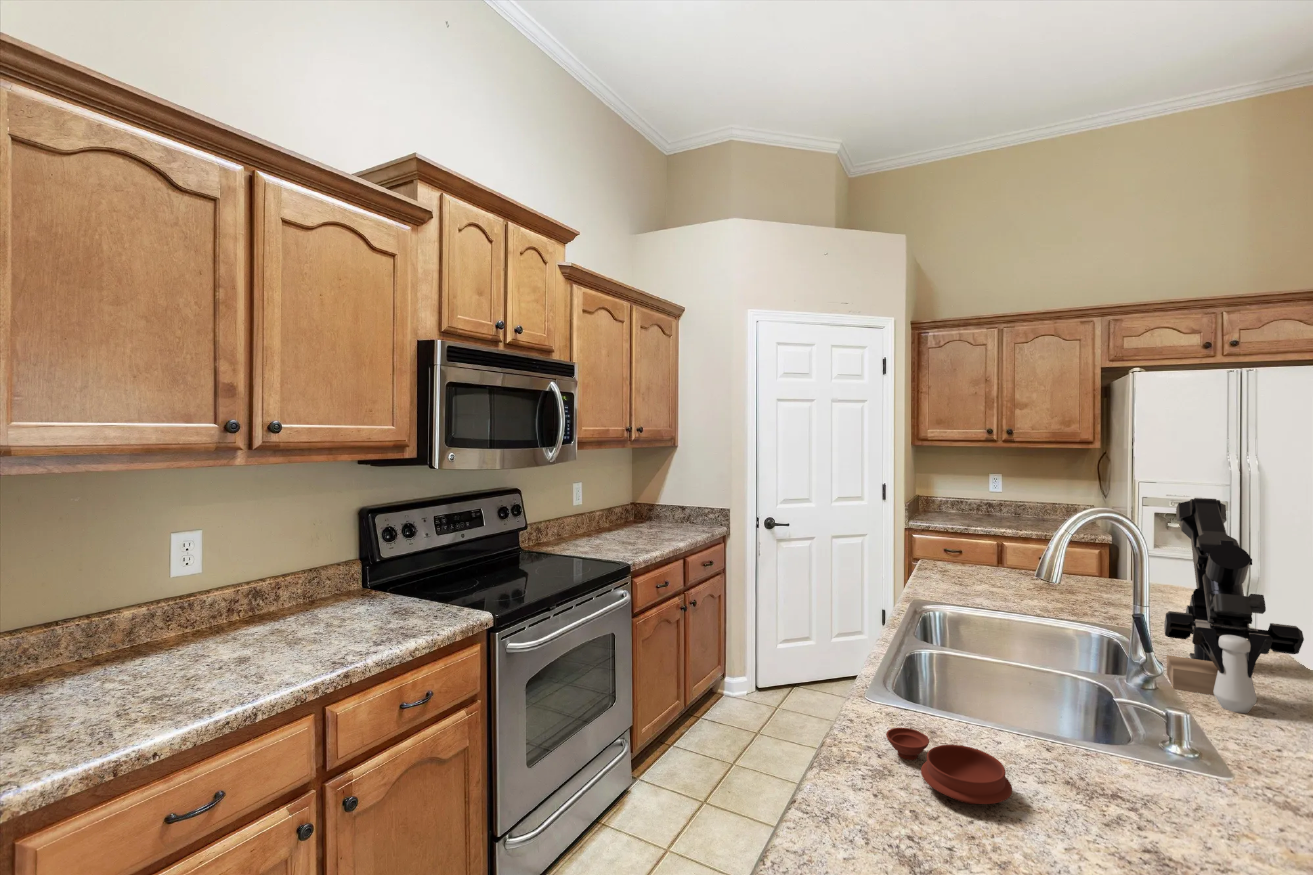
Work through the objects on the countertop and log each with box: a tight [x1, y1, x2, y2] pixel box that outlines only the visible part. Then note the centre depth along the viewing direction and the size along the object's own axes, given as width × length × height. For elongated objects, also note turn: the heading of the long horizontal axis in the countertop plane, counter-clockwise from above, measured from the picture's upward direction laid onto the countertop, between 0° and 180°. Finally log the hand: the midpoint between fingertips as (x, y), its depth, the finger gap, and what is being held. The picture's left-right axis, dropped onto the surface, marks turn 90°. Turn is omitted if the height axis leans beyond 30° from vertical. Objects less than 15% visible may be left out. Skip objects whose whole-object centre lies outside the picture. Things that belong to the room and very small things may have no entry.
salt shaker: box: [1213, 635, 1258, 714], centre depth 113 cm, size 6×6×13 cm
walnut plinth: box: [1166, 654, 1218, 696], centre depth 123 cm, size 8×8×4 cm
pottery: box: [885, 727, 1013, 805], centre depth 93 cm, size 12×20×4 cm, turn 23°
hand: (1235, 674), depth 112 cm, fingers closed on salt shaker, 3 cm apart
